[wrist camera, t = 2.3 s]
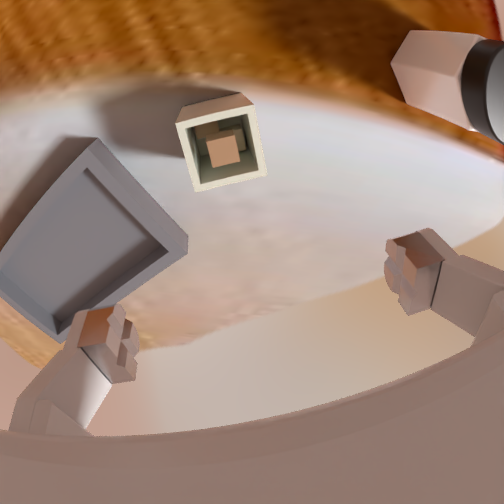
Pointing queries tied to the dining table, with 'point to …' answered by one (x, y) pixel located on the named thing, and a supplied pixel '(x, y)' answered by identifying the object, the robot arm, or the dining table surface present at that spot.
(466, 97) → the jar
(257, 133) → the cup
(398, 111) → the dining table surface
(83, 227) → the tray
